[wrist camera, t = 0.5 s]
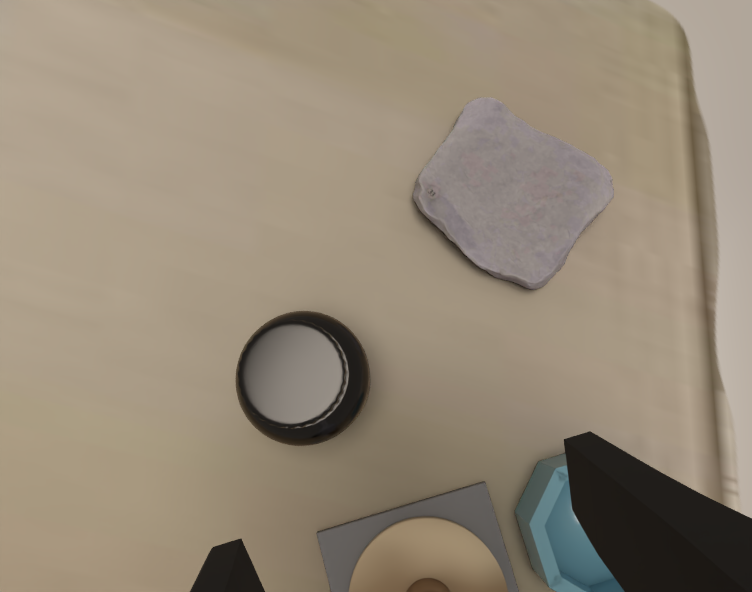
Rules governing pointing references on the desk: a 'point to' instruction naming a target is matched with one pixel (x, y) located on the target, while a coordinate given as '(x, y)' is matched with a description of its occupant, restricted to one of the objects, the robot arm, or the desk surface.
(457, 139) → the stone block
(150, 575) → the desk surface
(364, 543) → the mat
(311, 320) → the supplement bottle
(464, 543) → the lid
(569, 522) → the bowl
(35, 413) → the desk surface
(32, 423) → the desk surface
